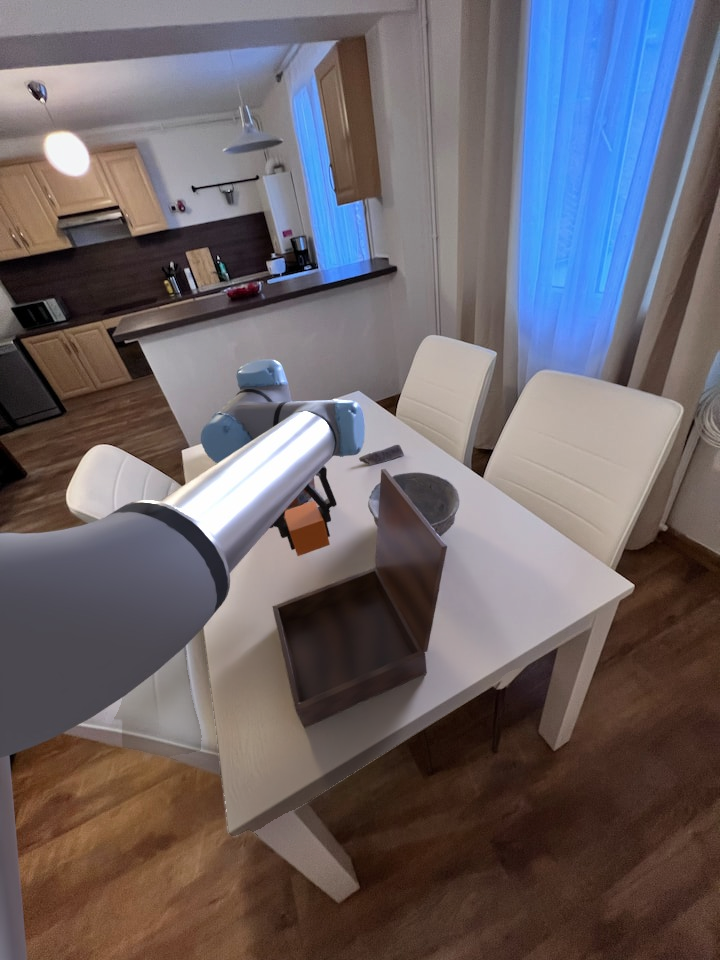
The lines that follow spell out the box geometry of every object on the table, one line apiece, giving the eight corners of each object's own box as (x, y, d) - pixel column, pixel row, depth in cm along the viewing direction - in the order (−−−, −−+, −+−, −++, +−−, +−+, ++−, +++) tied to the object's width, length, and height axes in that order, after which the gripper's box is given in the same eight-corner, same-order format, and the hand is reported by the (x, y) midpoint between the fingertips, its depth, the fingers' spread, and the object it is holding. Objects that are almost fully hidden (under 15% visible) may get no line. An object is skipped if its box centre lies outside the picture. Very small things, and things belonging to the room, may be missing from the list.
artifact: (404, 455, 123) (403, 449, 122) (362, 468, 121) (361, 461, 120) (399, 450, 126) (399, 443, 125) (359, 462, 124) (357, 456, 123)
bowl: (478, 535, 92) (480, 501, 86) (404, 576, 86) (400, 543, 80) (424, 491, 108) (422, 461, 102) (358, 524, 101) (352, 493, 95)
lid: (442, 547, 52) (469, 540, 54) (381, 469, 69) (403, 465, 70) (423, 653, 65) (445, 645, 66) (375, 565, 81) (394, 560, 82)
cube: (297, 556, 82) (289, 531, 78) (290, 535, 88) (282, 511, 84) (329, 544, 84) (323, 519, 80) (321, 524, 89) (314, 500, 85)
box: (304, 728, 64) (295, 711, 60) (280, 624, 80) (272, 606, 77) (426, 673, 68) (425, 654, 65) (380, 585, 85) (377, 566, 81)
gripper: (329, 423, 77) (347, 513, 90) (225, 454, 73) (261, 543, 86) (341, 441, 71) (359, 534, 85) (229, 475, 67) (266, 567, 81)
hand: (309, 539), depth 85 cm, fingers closed on cube, 7 cm apart
